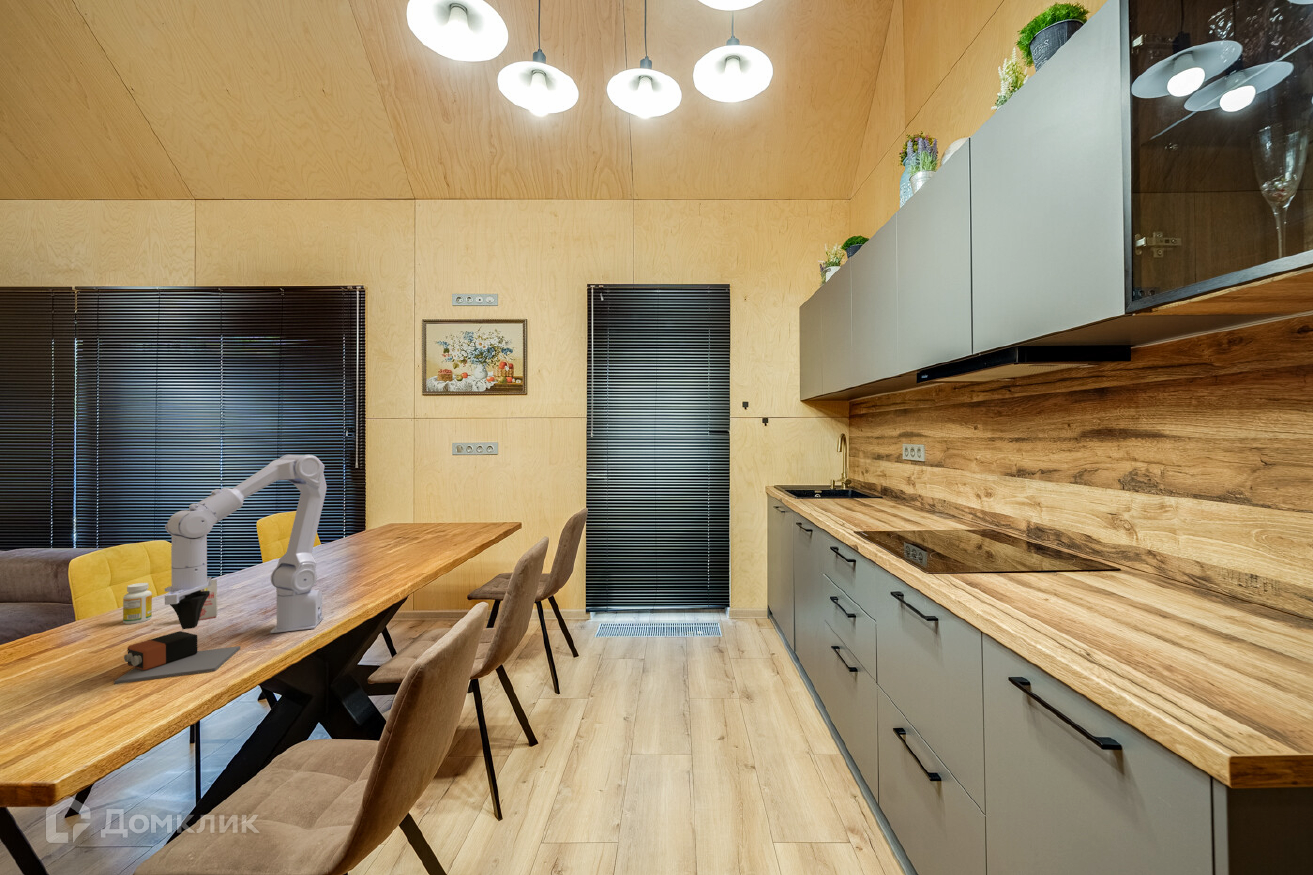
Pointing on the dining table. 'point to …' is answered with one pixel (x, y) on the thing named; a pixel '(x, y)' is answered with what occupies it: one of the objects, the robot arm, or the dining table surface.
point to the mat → (183, 666)
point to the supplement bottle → (137, 604)
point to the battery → (161, 650)
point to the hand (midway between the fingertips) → (189, 627)
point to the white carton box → (210, 602)
